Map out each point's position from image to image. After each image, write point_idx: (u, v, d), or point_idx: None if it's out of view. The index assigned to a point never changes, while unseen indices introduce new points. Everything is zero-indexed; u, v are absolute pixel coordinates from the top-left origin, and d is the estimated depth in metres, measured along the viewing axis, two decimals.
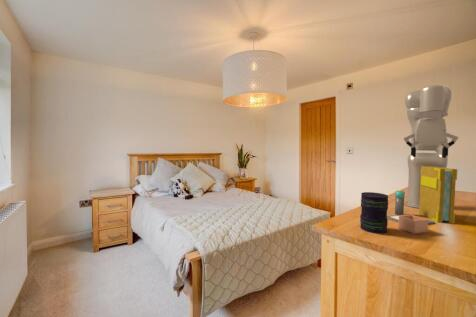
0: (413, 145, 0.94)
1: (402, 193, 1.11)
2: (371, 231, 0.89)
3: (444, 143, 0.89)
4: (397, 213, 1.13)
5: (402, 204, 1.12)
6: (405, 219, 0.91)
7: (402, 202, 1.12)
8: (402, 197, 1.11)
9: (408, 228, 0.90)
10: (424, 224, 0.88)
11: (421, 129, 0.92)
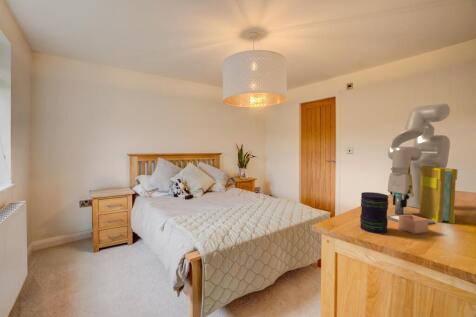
0: None
1: None
2: (371, 231, 0.89)
3: None
4: (397, 213, 1.13)
5: None
6: (405, 219, 0.91)
7: None
8: None
9: (408, 228, 0.90)
10: (424, 224, 0.88)
11: None
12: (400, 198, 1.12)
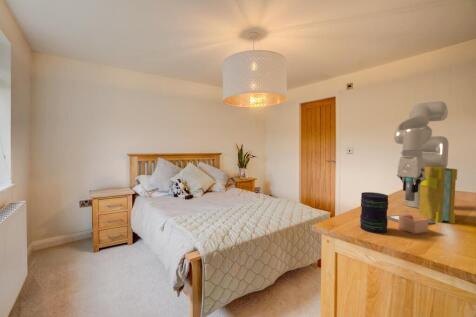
0: None
1: None
2: (371, 231, 0.89)
3: None
4: (408, 199, 1.06)
5: None
6: (405, 219, 0.91)
7: None
8: None
9: (408, 228, 0.90)
10: (424, 224, 0.88)
11: None
12: (411, 183, 1.05)
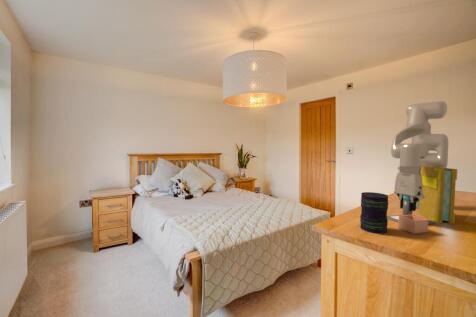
0: None
1: None
2: (371, 231, 0.89)
3: None
4: None
5: None
6: (405, 219, 0.91)
7: None
8: None
9: (408, 228, 0.90)
10: (424, 224, 0.88)
11: None
12: (408, 201, 1.00)
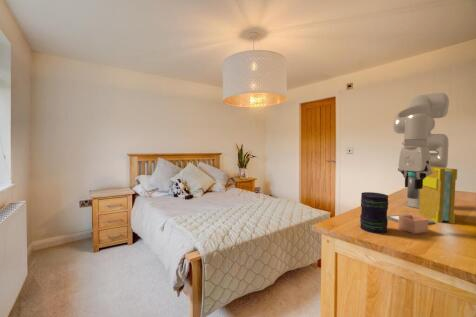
0: None
1: None
2: (371, 231, 0.89)
3: None
4: (410, 196, 0.91)
5: None
6: (405, 219, 0.91)
7: None
8: None
9: (408, 228, 0.90)
10: (424, 224, 0.88)
11: None
12: (414, 177, 0.90)
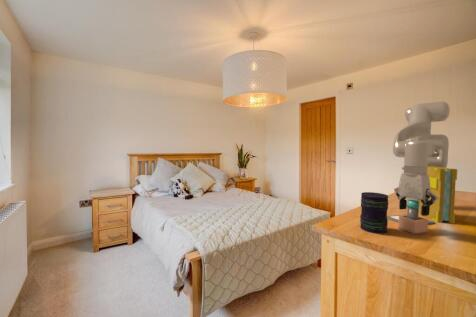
0: None
1: (416, 203, 0.89)
2: (371, 231, 0.89)
3: None
4: None
5: (416, 217, 0.90)
6: (405, 219, 0.91)
7: (416, 214, 0.89)
8: (416, 208, 0.89)
9: (408, 228, 0.90)
10: (424, 224, 0.88)
11: None
12: (414, 209, 0.90)
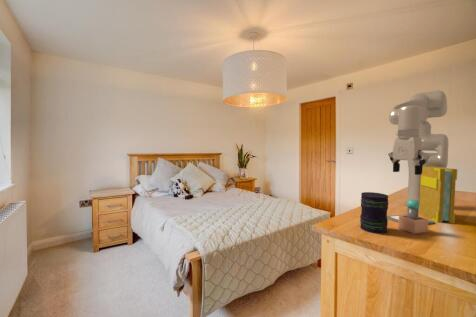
0: None
1: (416, 203, 0.89)
2: (371, 231, 0.89)
3: None
4: None
5: (416, 217, 0.90)
6: (405, 219, 0.91)
7: (416, 214, 0.89)
8: (416, 208, 0.89)
9: (408, 228, 0.90)
10: (424, 224, 0.88)
11: None
12: (414, 209, 0.90)
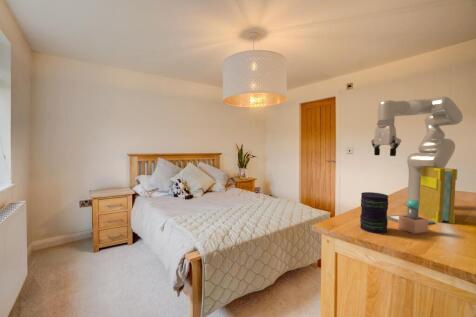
0: None
1: (416, 203, 0.89)
2: (371, 231, 0.89)
3: None
4: None
5: (416, 217, 0.90)
6: (405, 219, 0.91)
7: (416, 214, 0.89)
8: (416, 208, 0.89)
9: (408, 228, 0.90)
10: (424, 224, 0.88)
11: None
12: (414, 209, 0.90)
